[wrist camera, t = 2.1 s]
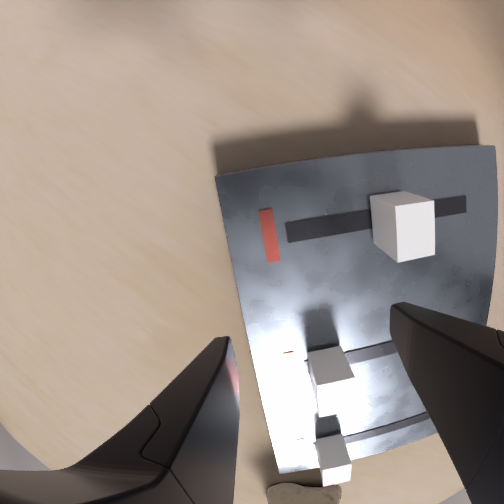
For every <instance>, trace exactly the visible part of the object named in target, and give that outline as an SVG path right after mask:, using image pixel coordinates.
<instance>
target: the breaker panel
mask: <svg viewBox="0 0 504 504" xmlns="http://www.w3.org/2000/svg"><path fill="white" fill-rule="evenodd" d="M215 181H216V186H217V191H218V196H219V201H220V206H221V211H222V216H223V221H224V226H225V231H226V236H227V241H228V246H229V251H230V256H231V260H232V265H233V270H234V275H235V280H236V284H237V289H238V294H239V298H240V303H241V308H242V312H243V317H244V322H245V326H246V331H247V335H248V340H249V344H250V349H251V353H252V358H253V362H254V367H255V371H256V376H257V380H258V384H259V389H260V393H261V398H262V402H263V406H264V410H265V415H266V419H267V423H268V428H269V432H270V436H271V440H272V444H273V448H274V453H275V457H276V461H277V465H278V469H279V473H280V474H283V473H290V472H296V471H302V470H308V469H313V468H319V464H318V459H317V449H316V439H320V438H324V437H329V436H334V435H338V434H343V437H344V440H345V444H346V447H347V450H348V454H349V457H350V460H354V459H358V458H362V457H366V456H369V455H373V454H377V453H380V452H383V451H387V450H390V449H393V448H396V447H399V446H402V445H405V444H408V443H411V442H414V441H417V440H420V439H422V438H425V437H428V436H430V435H433V434H435V433H438V432H437V430H436V428H435V426H434V424H433V422H432V420H431V418H430V416H429V414H428V412H427V411H426V409H425V407H424V405H423V403H422V401H421V399H420V398H419V396H418V394H417V392H416V390H415V389H414V387H413V385H412V383H411V381H410V379H409V377H408V376H407V373H406V371H405V369H404V366H403V364H402V362H401V359H400V357H399V354H398V352H397V350H396V347H395V345H394V343H393V340H392V338H391V335H390V307H391V305H392V304H395V303H399V302H408V303H411V304H414V305H418V306H421V307H424V308H427V309H431V310H434V311H437V312H441V313H444V314H447V315H451V316H454V317H457V318H461V319H464V320H467V321H471V322H474V323H477V324H481V325H484V326H486V324H487V319H488V313H489V307H490V301H491V294H492V286H493V278H494V269H495V258H496V245H497V223H498V185H497V164H496V150H495V146H493V145H452V146H433V147H418V148H405V149H393V150H382V151H371V152H362V153H353V154H344V155H336V156H328V157H320V158H313V159H306V160H299V161H292V162H285V163H279V164H273V165H267V166H261V167H255V168H249V169H243V170H238V171H233V172H227V173H222V174H217V175H216V176H215ZM400 191H406V192H409V193H412V194H415V195H419V196H422V197H425V198H428V199H431V200H434V213H435V255H431V256H427V257H422V258H418V259H413V260H408V261H404V262H399V263H397V262H396V261H395V260H394V259H392V258H391V257H390V256H389V255H387V254H386V253H385V252H384V251H382V250H381V249H380V248H379V247H377V246H376V245H375V244H374V242H373V227H372V215H371V204H370V196H372V195H379V194H386V193H393V192H400ZM337 346H341V347H342V349H343V351H344V353H345V356H346V358H347V360H348V362H349V365H350V367H351V369H352V371H353V374H354V376H355V410H351V411H347V412H342V413H338V414H334V415H329V416H324V417H319V414H318V410H317V406H316V403H315V399H314V395H313V391H312V387H311V382H310V372H309V363H308V353H307V352H312V351H318V350H323V349H327V348H332V347H337Z"/></svg>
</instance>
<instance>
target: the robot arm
mask: <svg viewBox="0 0 504 504" xmlns="http://www.w3.org/2000/svg"><path fill="white" fill-rule="evenodd" d="M390 335H391V338H392V340H393V343H394V345H395V347H396V350H397V352H398V354H399V357H400V359H401V362H402V364H403V366H404V369H405V371H406V373H407V376H408V377H409V379H410V381H411V383H412V385H413V387H414V389H415V390H416V392H417V394H418V396H419V398H420V399H421V401H422V403H423V405H424V407H425V409H426V411H427V412H428V414H429V416H430V418H431V420H432V422H433V424H434V426H435V428H436V430H437V432H438V434H439V436H440V437H441V439H442V441H443V443H444V445H445V447H446V449H447V451H448V453H449V455H450V458H451V460H452V462H453V464H454V466H455V468H456V470H457V472H458V474H459V476H460V478H461V481H462V483H463V485H464V487H465V489H466V492H467V494H468V496H469V499H470V501H471V503H472V504H504V331H501V330H497V331H496V329H494V328H491V327H487V326H484V325H481V324H477V323H474V322H471V321H467V320H464V319H461V318H457V317H454V316H451V315H447V314H444V313H441V312H437V311H434V310H431V309H427V308H424V307H421V306H418V305H414V304H411V303H408V302H399V303H395V304H392V305H391V307H390ZM239 419H240V401H239V386H238V371H237V362H236V357H235V353H234V350H233V346H232V342H231V339H230V337H229V336H224V337H217V338H215V339H213V340H212V341H211V343H210V344H209V345H208V346H207V347H206V348H205V349H204V350H203V351H202V352H201V353H200V354H199V355H198V356H197V357H196V358H195V359H194V360H193V361H192V362H191V363H190V364H189V365H188V366H187V367H186V368H185V369H184V370H183V371H182V372H181V373H180V374H179V375H178V376H177V377H176V378H175V379H174V380H173V381H172V382H171V383H170V384H169V385H168V386H167V387H166V388H165V389H164V390H163V391H162V392H161V393H160V394H159V395H158V396H157V397H156V398H155V399H154V400H153V401H152V402H151V403H150V405H147V406H146V407H145V408H144V409H143V410H142V411H141V412H140V413H139V414H138V415H137V416H136V417H135V418H134V419H133V420H131V421H130V422H129V423H128V424H127V425H126V426H125V427H123V428H122V429H121V430H120V431H118V432H117V433H116V434H115V435H114V436H112V437H111V438H110V439H108V440H107V441H106V442H104V443H103V444H102V445H100V446H99V447H98V448H97V449H95V450H94V451H93V452H91V453H90V454H89V455H87V456H86V457H84V458H83V459H82V460H80V461H79V462H77V463H76V464H74V465H72V466H70V467H67V468H64V469H60V470H54V471H13V470H12V471H11V470H0V504H233V498H234V485H235V472H236V458H237V445H238V432H239Z"/></svg>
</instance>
